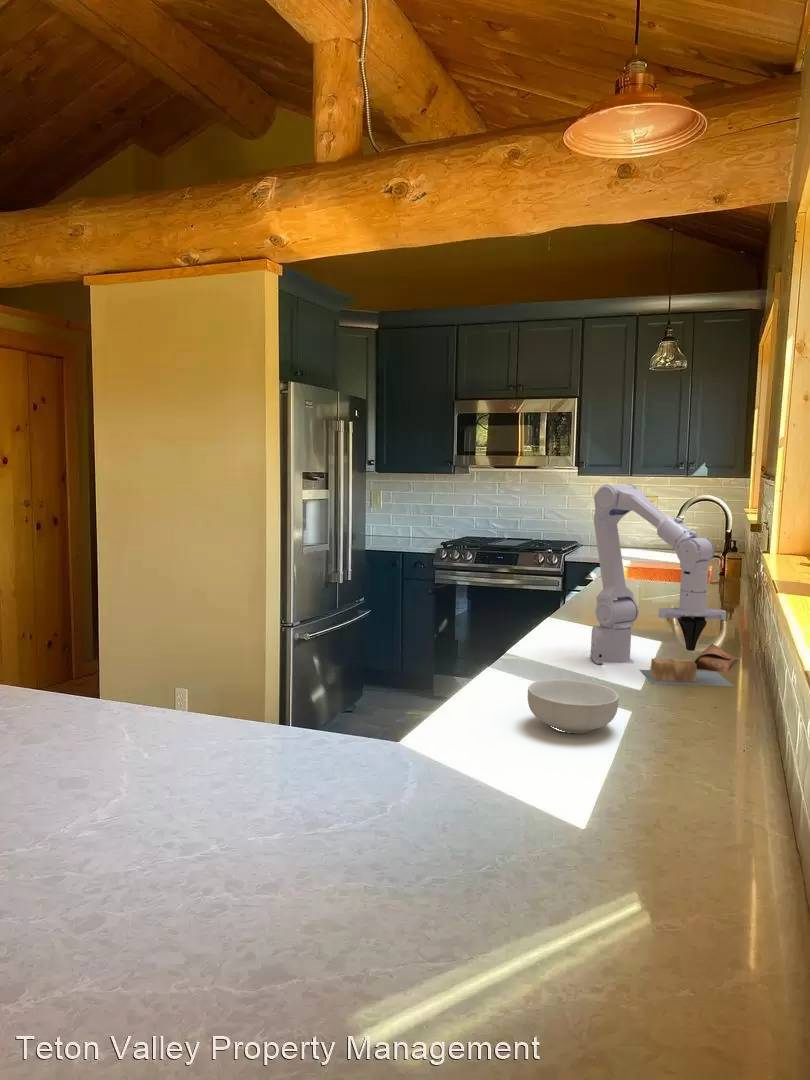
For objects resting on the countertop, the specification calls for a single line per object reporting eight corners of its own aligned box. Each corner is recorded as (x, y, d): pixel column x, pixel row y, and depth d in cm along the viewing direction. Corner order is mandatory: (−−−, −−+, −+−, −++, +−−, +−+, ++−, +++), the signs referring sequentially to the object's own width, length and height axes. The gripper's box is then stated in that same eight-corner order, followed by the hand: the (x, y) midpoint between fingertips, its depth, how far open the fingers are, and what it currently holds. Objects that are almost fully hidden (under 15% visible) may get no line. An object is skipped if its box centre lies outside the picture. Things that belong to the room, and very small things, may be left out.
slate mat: (652, 686, 178) (652, 683, 178) (638, 672, 190) (638, 669, 190) (734, 688, 177) (734, 686, 177) (715, 674, 189) (715, 671, 189)
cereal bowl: (619, 746, 140) (621, 707, 140) (524, 738, 144) (525, 700, 143) (614, 716, 157) (616, 681, 156) (528, 709, 160) (530, 675, 159)
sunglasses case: (730, 675, 188) (716, 649, 189) (702, 686, 191) (689, 661, 192) (740, 659, 204) (727, 636, 205) (715, 670, 207) (702, 646, 208)
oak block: (695, 681, 181) (655, 680, 181) (690, 676, 185) (650, 675, 185) (696, 664, 180) (656, 663, 181) (691, 659, 184) (651, 658, 185)
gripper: (665, 592, 177) (662, 653, 178) (732, 594, 176) (728, 654, 178) (657, 587, 184) (654, 645, 185) (721, 589, 183) (718, 647, 185)
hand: (690, 649), depth 182 cm, fingers closed
